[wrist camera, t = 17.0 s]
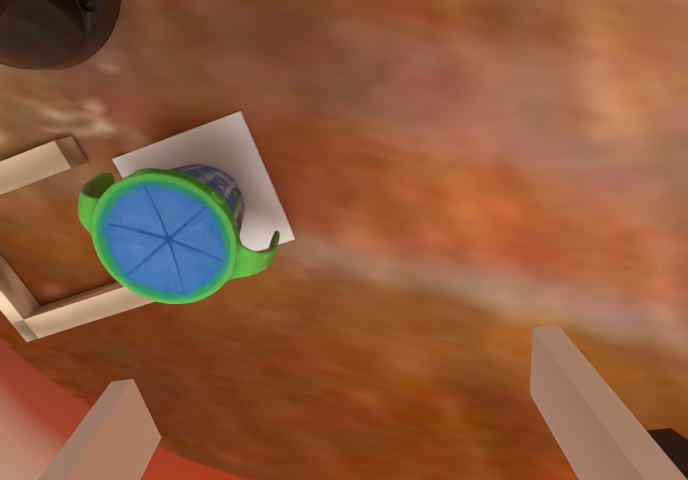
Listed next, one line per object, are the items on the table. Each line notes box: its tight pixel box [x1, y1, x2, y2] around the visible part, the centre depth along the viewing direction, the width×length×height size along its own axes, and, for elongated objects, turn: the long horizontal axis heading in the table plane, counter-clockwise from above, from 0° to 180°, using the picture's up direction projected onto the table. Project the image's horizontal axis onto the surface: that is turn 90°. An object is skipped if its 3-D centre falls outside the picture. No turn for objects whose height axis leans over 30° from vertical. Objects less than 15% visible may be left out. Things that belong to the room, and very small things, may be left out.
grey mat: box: [112, 111, 295, 251], centre depth 38 cm, size 13×13×1 cm
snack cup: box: [78, 164, 280, 304], centre depth 33 cm, size 16×10×10 cm
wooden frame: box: [0, 136, 155, 342], centre depth 39 cm, size 17×16×2 cm
